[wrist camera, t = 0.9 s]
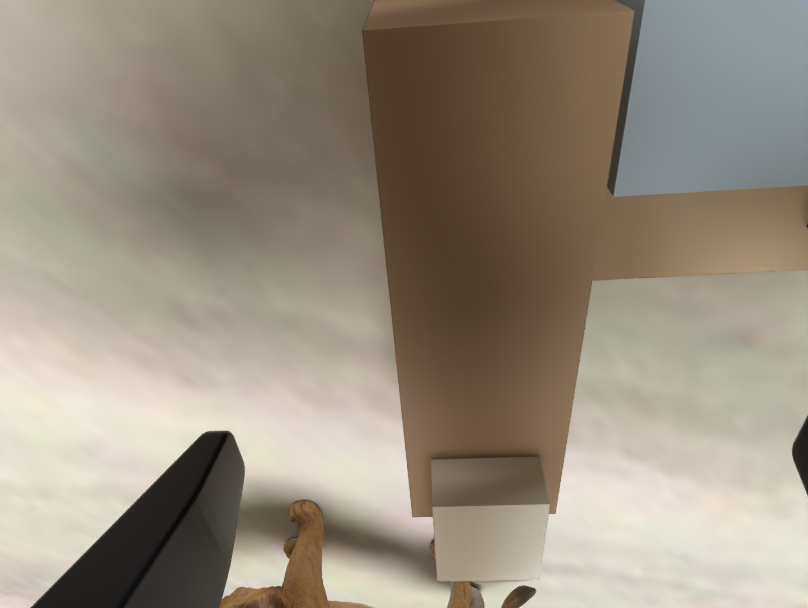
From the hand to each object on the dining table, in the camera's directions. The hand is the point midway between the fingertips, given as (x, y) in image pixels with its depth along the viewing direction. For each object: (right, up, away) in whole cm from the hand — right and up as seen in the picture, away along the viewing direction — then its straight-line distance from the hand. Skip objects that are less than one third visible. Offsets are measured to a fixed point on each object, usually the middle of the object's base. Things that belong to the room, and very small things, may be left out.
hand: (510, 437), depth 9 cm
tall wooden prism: (0, +4, +6) cm, 7 cm away
